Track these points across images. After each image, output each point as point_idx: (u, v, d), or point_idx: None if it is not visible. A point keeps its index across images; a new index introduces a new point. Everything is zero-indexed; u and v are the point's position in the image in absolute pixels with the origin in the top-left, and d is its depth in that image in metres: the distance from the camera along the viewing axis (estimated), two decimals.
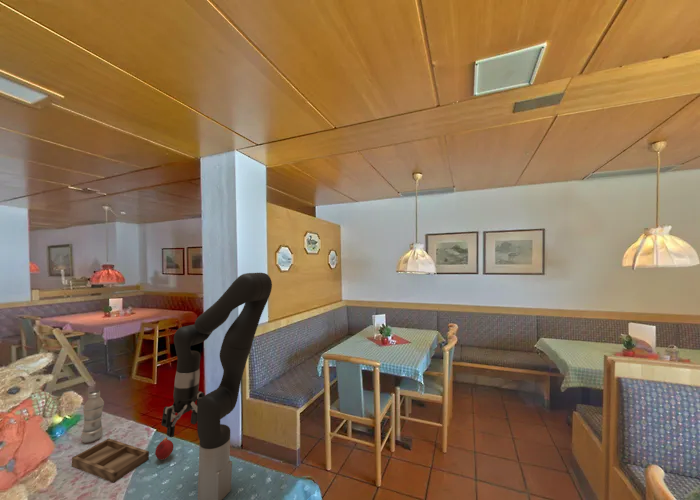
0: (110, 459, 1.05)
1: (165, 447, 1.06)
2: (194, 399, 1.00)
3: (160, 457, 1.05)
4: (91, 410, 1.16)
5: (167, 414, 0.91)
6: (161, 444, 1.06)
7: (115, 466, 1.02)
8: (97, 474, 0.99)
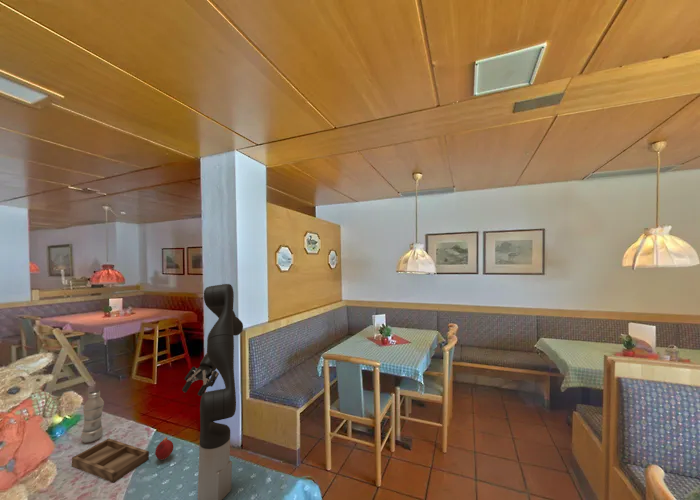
0: (110, 459, 1.05)
1: (165, 447, 1.06)
2: (208, 371, 1.24)
3: (160, 457, 1.05)
4: (91, 410, 1.16)
5: None
6: (161, 444, 1.06)
7: (115, 466, 1.02)
8: (97, 474, 0.99)
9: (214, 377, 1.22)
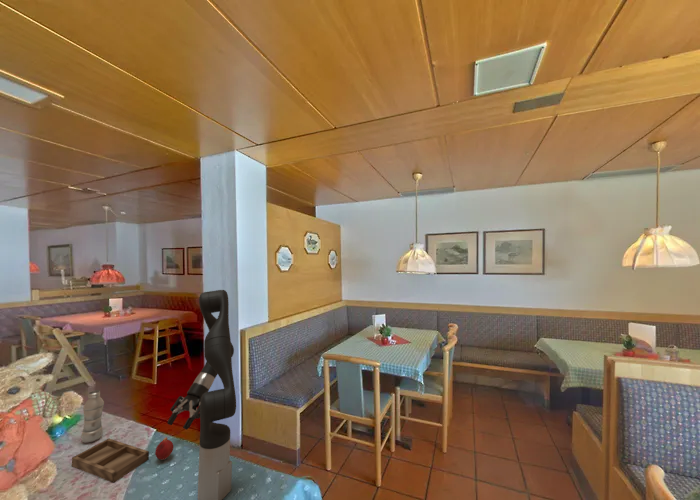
0: (110, 459, 1.05)
1: (165, 447, 1.06)
2: (195, 402, 1.18)
3: (160, 457, 1.05)
4: (91, 410, 1.16)
5: None
6: (161, 444, 1.06)
7: (115, 466, 1.02)
8: (97, 474, 0.99)
9: None
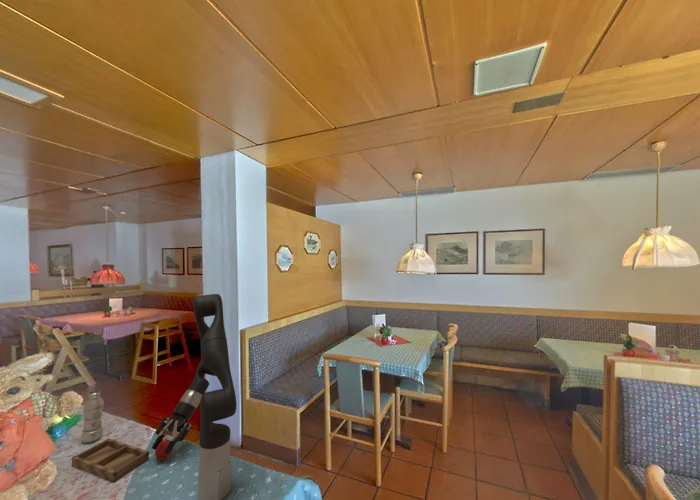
0: (110, 459, 1.05)
1: (165, 447, 1.06)
2: (181, 421, 1.11)
3: (160, 457, 1.05)
4: (91, 410, 1.16)
5: None
6: (161, 444, 1.06)
7: (115, 466, 1.02)
8: (97, 474, 0.99)
9: (185, 431, 1.09)
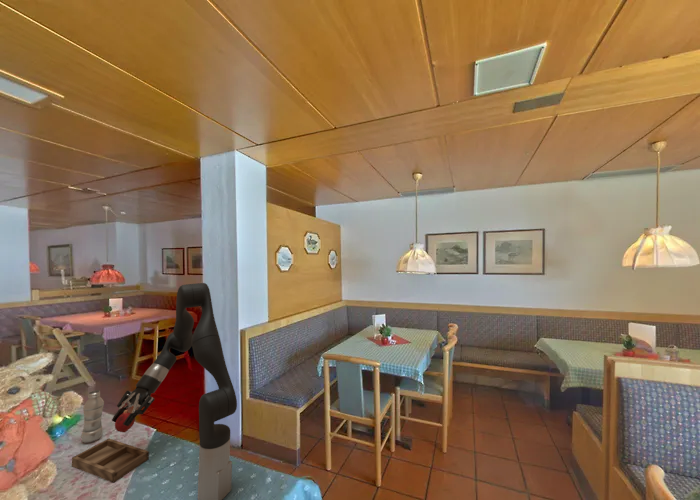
0: (110, 459, 1.05)
1: None
2: (143, 395, 1.08)
3: (119, 429, 1.02)
4: (91, 410, 1.16)
5: None
6: (121, 416, 1.03)
7: (115, 466, 1.02)
8: (97, 474, 0.99)
9: (146, 404, 1.06)
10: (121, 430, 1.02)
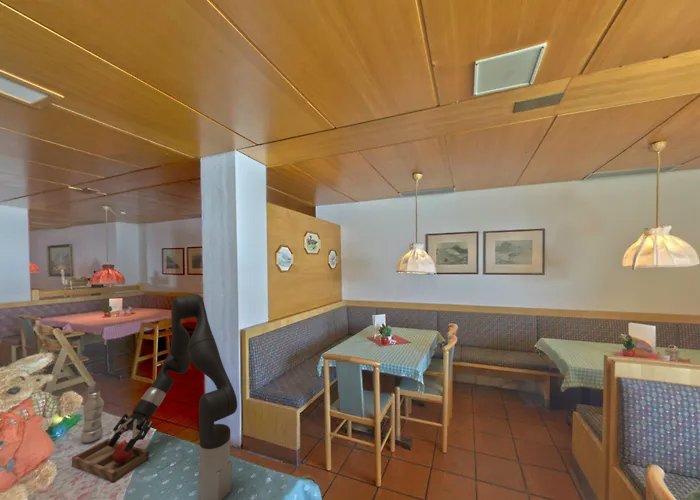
0: (110, 459, 1.05)
1: (123, 449, 1.03)
2: (140, 420, 1.08)
3: (117, 460, 1.01)
4: (91, 410, 1.16)
5: None
6: (119, 446, 1.03)
7: (115, 466, 1.02)
8: (97, 474, 0.99)
9: (146, 428, 1.06)
10: (119, 461, 1.02)
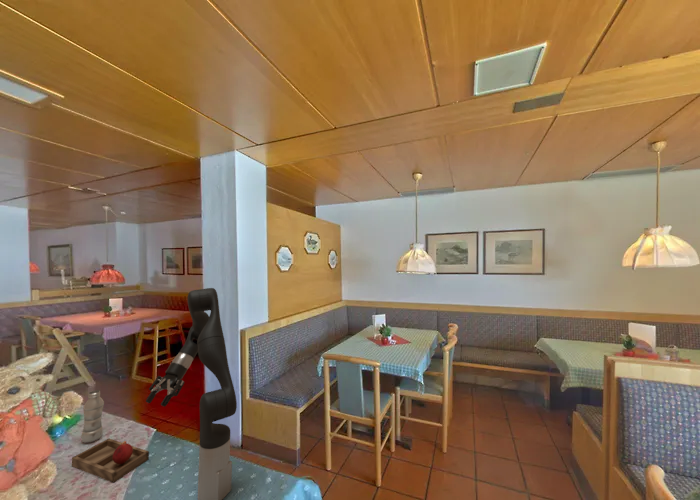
0: (110, 459, 1.05)
1: (123, 452, 1.02)
2: (173, 380, 1.20)
3: (117, 461, 1.01)
4: (91, 410, 1.16)
5: None
6: (119, 448, 1.02)
7: (115, 466, 1.02)
8: (97, 474, 0.99)
9: (179, 386, 1.18)
10: (119, 462, 1.02)
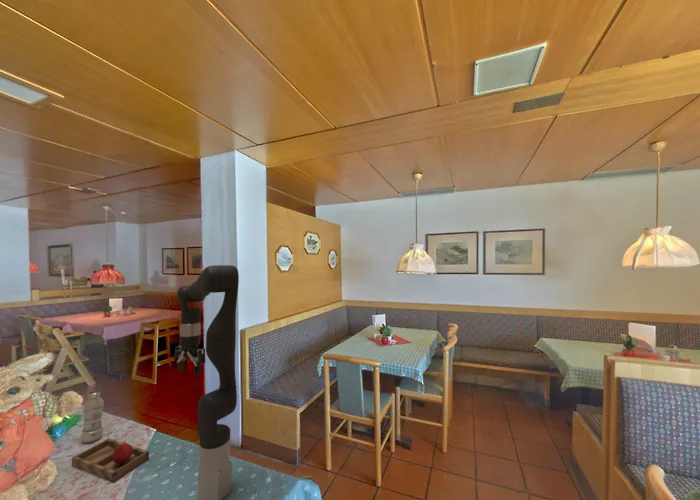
0: (110, 459, 1.05)
1: (122, 451, 1.02)
2: (192, 351, 1.14)
3: (117, 461, 1.01)
4: (91, 410, 1.16)
5: None
6: (119, 448, 1.03)
7: (115, 466, 1.02)
8: (97, 474, 0.99)
9: (202, 356, 1.13)
10: (119, 462, 1.02)
